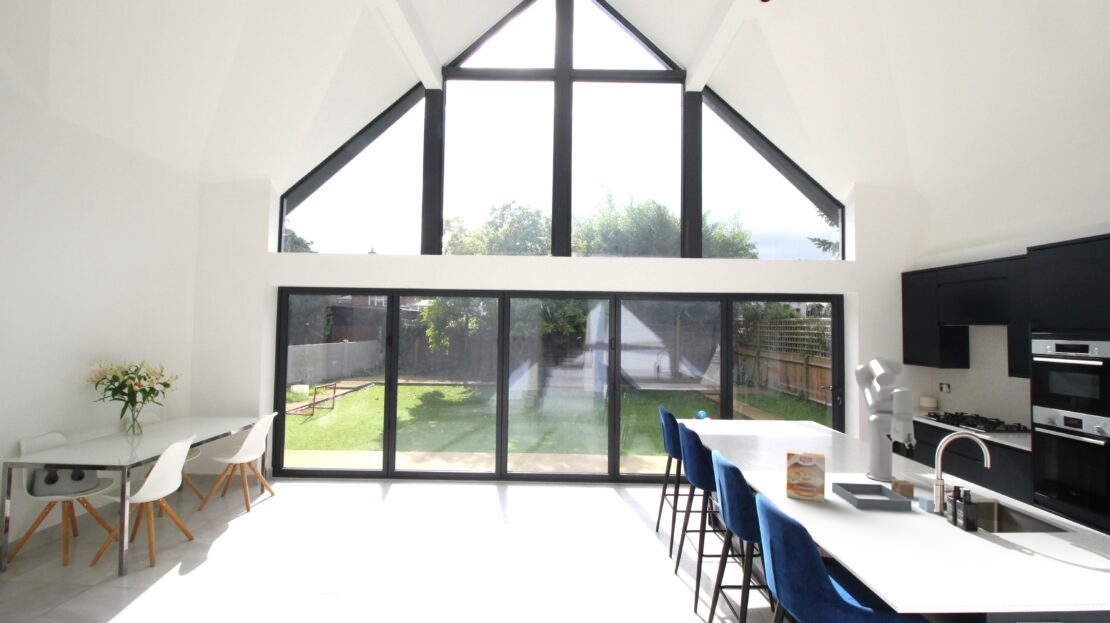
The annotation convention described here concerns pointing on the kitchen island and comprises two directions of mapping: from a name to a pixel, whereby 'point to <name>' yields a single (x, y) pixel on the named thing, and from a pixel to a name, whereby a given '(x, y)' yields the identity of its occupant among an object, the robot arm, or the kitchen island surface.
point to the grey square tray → (884, 504)
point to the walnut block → (903, 488)
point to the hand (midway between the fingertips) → (902, 454)
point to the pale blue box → (926, 503)
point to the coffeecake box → (805, 475)
